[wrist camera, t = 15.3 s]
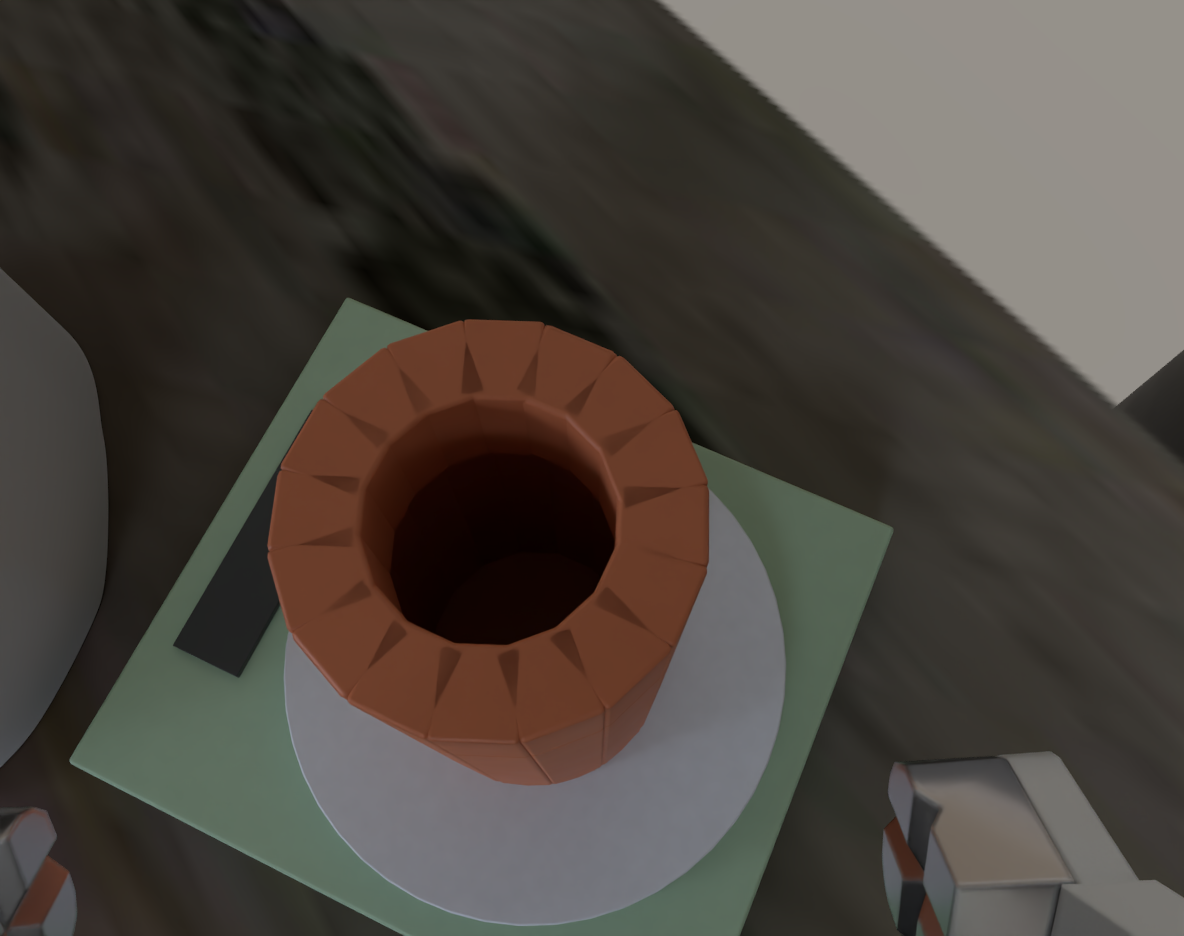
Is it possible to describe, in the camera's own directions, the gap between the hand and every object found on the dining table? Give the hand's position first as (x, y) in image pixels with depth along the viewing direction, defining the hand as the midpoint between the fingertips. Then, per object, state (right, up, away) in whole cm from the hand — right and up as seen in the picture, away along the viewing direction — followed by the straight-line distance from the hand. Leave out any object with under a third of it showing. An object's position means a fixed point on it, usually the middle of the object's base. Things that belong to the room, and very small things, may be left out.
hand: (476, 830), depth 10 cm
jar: (0, 0, +12) cm, 12 cm away
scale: (-1, -1, +14) cm, 15 cm away
